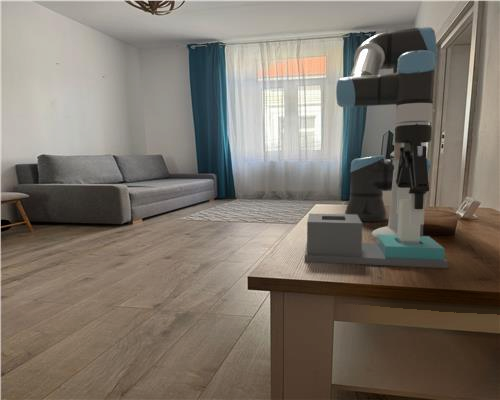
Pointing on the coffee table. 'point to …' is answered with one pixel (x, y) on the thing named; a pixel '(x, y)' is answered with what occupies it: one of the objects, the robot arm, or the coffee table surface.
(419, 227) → the plug
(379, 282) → the coffee table surface
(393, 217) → the candlestick
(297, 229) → the coffee table surface
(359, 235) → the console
